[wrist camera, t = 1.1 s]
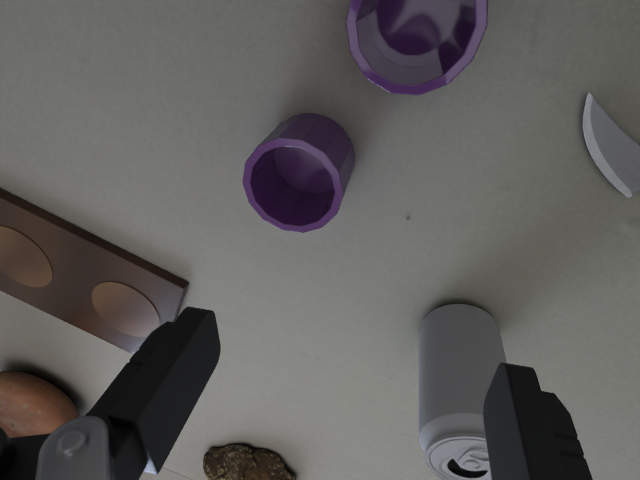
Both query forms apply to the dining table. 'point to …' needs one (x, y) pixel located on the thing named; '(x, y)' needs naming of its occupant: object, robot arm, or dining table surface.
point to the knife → (611, 149)
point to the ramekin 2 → (414, 41)
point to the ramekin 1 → (300, 173)
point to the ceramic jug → (32, 405)
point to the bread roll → (244, 464)
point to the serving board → (83, 277)
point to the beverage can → (456, 389)
